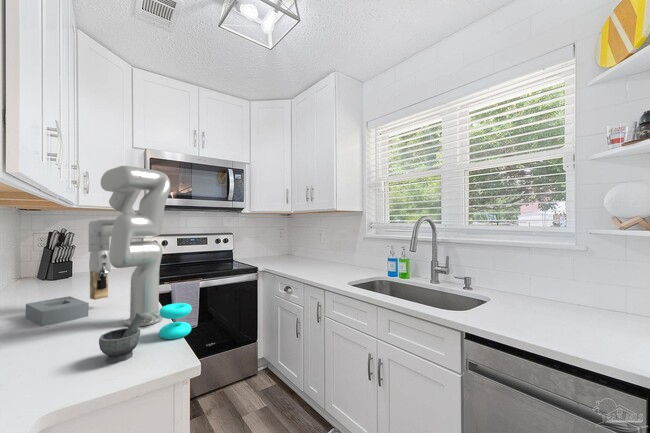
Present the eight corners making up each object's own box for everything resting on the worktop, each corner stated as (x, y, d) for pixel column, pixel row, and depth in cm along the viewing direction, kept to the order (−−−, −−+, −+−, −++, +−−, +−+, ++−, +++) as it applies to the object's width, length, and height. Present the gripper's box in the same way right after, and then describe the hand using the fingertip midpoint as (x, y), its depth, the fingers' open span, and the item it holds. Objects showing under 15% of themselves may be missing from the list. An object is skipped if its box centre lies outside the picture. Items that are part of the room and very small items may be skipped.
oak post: (107, 297, 131) (108, 270, 132) (94, 299, 127) (94, 272, 127) (102, 296, 134) (103, 270, 134) (89, 298, 129) (90, 271, 130)
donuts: (152, 307, 98) (179, 300, 107) (152, 337, 98) (178, 327, 107) (172, 312, 94) (197, 304, 103) (171, 342, 94) (197, 332, 103)
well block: (88, 316, 119) (88, 302, 120) (42, 326, 107) (42, 311, 108) (69, 308, 130) (69, 296, 130) (25, 317, 118) (25, 303, 118)
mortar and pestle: (101, 369, 77) (102, 324, 77) (95, 358, 83) (96, 316, 83) (149, 356, 85) (150, 314, 85) (141, 346, 91) (141, 308, 91)
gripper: (117, 247, 130) (117, 288, 129) (100, 246, 139) (100, 285, 138) (97, 248, 123) (97, 291, 123) (81, 248, 132) (80, 288, 132)
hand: (98, 287), depth 130 cm, fingers closed on oak post, 5 cm apart
